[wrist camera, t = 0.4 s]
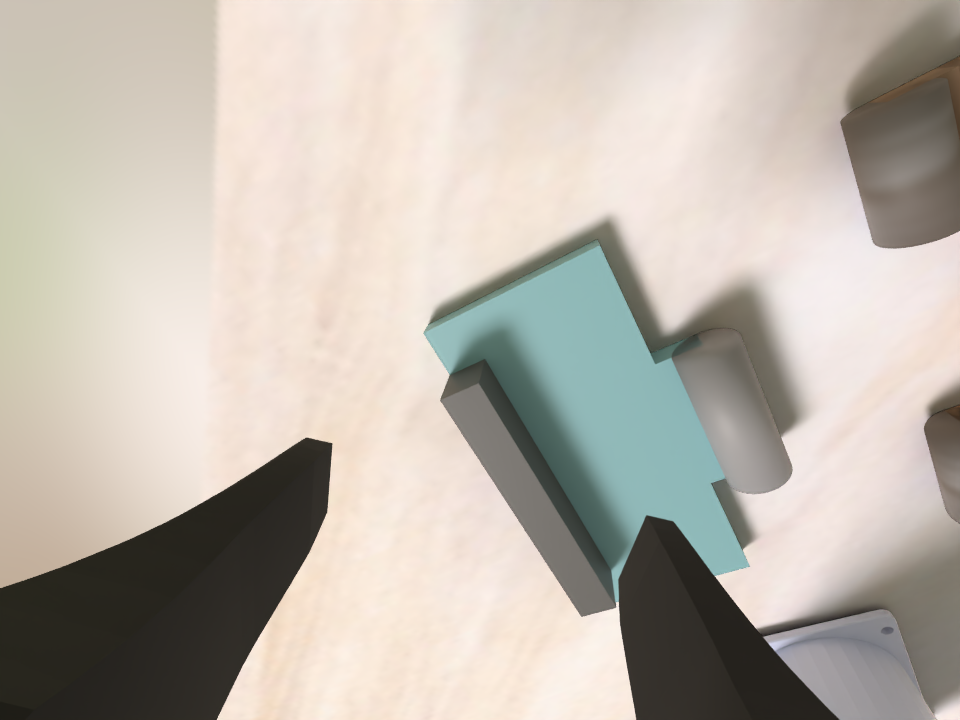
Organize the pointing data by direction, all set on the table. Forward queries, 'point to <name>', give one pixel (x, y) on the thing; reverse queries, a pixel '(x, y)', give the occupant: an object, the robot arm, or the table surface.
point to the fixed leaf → (915, 201)
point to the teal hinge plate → (604, 422)
